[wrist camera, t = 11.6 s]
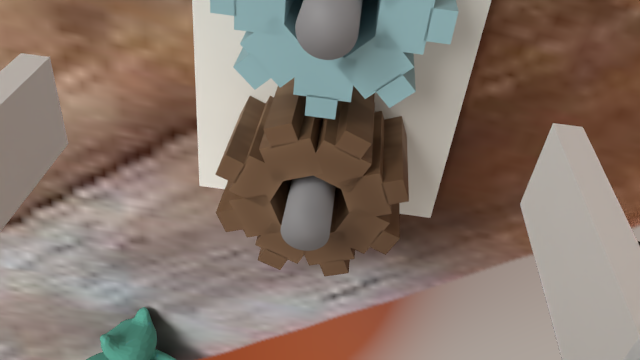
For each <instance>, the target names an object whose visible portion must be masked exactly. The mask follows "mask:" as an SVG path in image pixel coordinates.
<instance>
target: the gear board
mask: <svg viewBox="0 0 640 360" xmlns="http://www.w3.org/2000/svg"><path fill="white" fill-rule="evenodd" d="M362 1H363V0H303V3H302V6H301V9H300V12H299V14H298V17H297V20H296V25H295V32H296V37H297V40H298V42H299V44H300V45H301V47H302V48H303V49H304V50H305V51H306V52H307V53H308V54H310V55H311V56H313V57H315V58H318V59H322V60H334V59H338V58H340V57H343V56H344V55H346V54H347V53H349V52H350V51H351V50H352V48H353V47H354V45H355V44H356V41H357V39H358V33H359V25H360V17H361V9H362ZM456 3H457V7H458V11H459V12H458V16H457V20H456V24H455V28H454V32H453V36H452V40H451V44H443V43H435V42H428V41H426V44H425V49H424V53H423V55H422V54H414V70H415V87H416V92H414V93H413V94H411V95H410V96H408V97H406V98H405V99H403V100H402V101H400V102H398V103H397V104H395V105H394V106H392V107H390V108H389V107H388V106H387V105H386V103H385V102H384V101H383V100H382V99H381V97H380V96H379V95H378V94H377V93H376V92H375V95H374V102H375V112H378V111H382V113H383V116H384V120H385V119H390V118H395V117H400V116H402V119H403V123H404V127H405V131H406V135H407V156H408V187H409V202H403V203H399V205H400V214H406V215H413V216H420V217H427V218H431V214H432V210H433V207H434V203H435V200H436V196H437V193H438V189H439V185H440V182H441V178H442V175H443V171H444V168H445V164H446V161H447V157H448V153H449V150H450V146H451V143H452V139H453V136H454V132H455V128H456V125H457V121H458V118H459V114H460V111H461V107H462V104H463V100H464V96H465V93H466V89H467V86H468V82H469V79H470V75H471V71H472V68H473V64H474V61H475V57H476V54H477V50H478V46H479V43H480V39H481V36H482V32H483V29H484V25H485V22H486V18H487V14H488V11H489V7H490V4H491V0H456ZM192 5H193V31H194V56H195V82H196V107H197V133H198V158H199V183H200V186H205V187H212V188H219V189H225V187H226V185H227V182H228V180H226V179H224V178H221V177H219V176H217V175H215V174H216V172H217V169H218V167H219V164H220V162H221V159H222V157H223V155H224V152H225V150H226V147H227V145H228V142H229V140H230V138H231V135H232V133H233V130H234V128H235V126H236V123H237V121H238V118H239V116H240V114H241V112H242V110H243V108H244V106H245V104H246V102H247V100H248V98H249V96H252V97H254V98H256V99H258V100H260V101H262V102H264V103H266V102H267V100H268V98H269V97H270V96H272V97H274V96H275V93H276V90H277V87H278V85H277V84H276V83H275V82H274V81H273V80H272V78H270V79H269V80H268V81H266V82H265V83H264V84H262V85H261V86H260V87H258V88H257V89H255V90H254V89H253V88H252V86H251V85H250V84H249V83H248V82H247V81H246V80H245V79H244V78H243V77H242V76H241V75H240V74H239V73H238V72H237V71H236V70H235V69H234V67H233V66H234V64H235V62H236V60H237V58H238V56H239V54H240V52H241V50H242V48H243V47H242V46H241V45H240V42H241V40H242V39H243V37H244V35H245V33H246V31H241V30H234V16H231V15H223V14H216V13H210V0H192ZM335 190H336V186H334V185H332V184H330V183H328V182H326V181H324V180H321V179H319V178H317V177H315V176H307V177H302V178H297V179H292V182H291V186H290V190H289V195H288V199H287V203H286V207H285V212H284V216H283V220H282V225H281V235H282V238H283V239H284V241H285V242H286V243H287V244H289V245H290V246H291V247H293V248H296V249H299V250H304V251H311V250H316V249H319V248H321V247H323V246H324V245H325V244H326V243H327V241H328V239H329V235H330V228H331V220H332V213H333V205H334V197H335Z"/></svg>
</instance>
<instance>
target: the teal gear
mask: <svg viewBox="0 0 640 360" xmlns="http://www.w3.org/2000/svg"><path fill="white" fill-rule="evenodd" d="M302 3H303V0H210V13H216V14H223V15H231V16H234V30H241V31H246V33H245V35H244V37H243V39H242V40H241V42H240V45H241V46H242V47H243V48H242V50H241V52H240V54H239V56H238V58H237V60H236V62H235V64H234V66H233V67H234V69H235V70H236V71H237V72H238V73H239V74H240V75H241V76H242V77H243V78H244V79H245V80H246V81H247V82H248V83H249V84H250V85H251V86H252V88H253V89H254V90H255V89H257V88H258V87H260V86H261V85H262V84H264V83H265V82H266V81H268V80H269V79H270V78H272V80H273V81H274V82H275V83H276V84H277V85H278V86H279V87H282V86H283V85H285V84H286V83H287V82H289V81H290V80H292V79H293V78H294V77H295V78H294V91H293V95H300V96H306V107H305V116H312V117H319V118H327V119H334V120H335V117H336V110H337V104H338V101H345V102H351V98H352V91H353V85H354V87H355V88H356V89H357V90H358V91H359V93H360V94H361V95H362V96H363V97H364V98H365V99H366V98H368V97H369V96H371V95H372V94H374V93H375V92H376V93H377V94H378V95H379V96H380V97H381V99H382V100H383V101H384V102H385V103H386V105H387V106H388V107H389V108H390V107H392V106H394V105H395V104H397V103H398V102H400V101H402V100H403V99H405V98H406V97H408V96H410V95H411V94H413V93H414V92H416V87H415V70H414V54H422V55H423V53H424V49H425V44H426V41H428V42H435V43H443V44H451V40H452V36H453V32H454V28H455V24H456V20H457V16H458V12H459V11H458V7H457V3H456V0H363V1H362V9H361V17H360V25H359V33H358V39H357V41H356V44H355V45H354V47H353V48H352V50H351V51H350V52H349V53H347V54H346V55H344V56H343V57H340V58H338V59H334V60H322V59H318V58H315V57H313V56H311V55H310V54H308V53H307V52H306V51H305V50H304V49H303V48H302V47H301V45H300V44H299V42H298V40H297V37H296V32H295V25H296V20H297V17H298V14H299V12H300V9H301V6H302Z"/></svg>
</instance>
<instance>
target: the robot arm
mask: <svg viewBox="0 0 640 360" xmlns="http://www.w3.org/2000/svg"><path fill="white" fill-rule="evenodd" d="M67 145H68V140H67V135H66V131H65V126H64V121H63V117H62V112H61V107H60V103H59V98H58V93H57V89H56V84H55V79H54V75H53V70H52V65H51V61H50V57H46V56H38V55H30V54H23V53H21V54H19V55H18V56H17V57H16V58H15V59H14V60H13V61H12V62H10V63H9V64H8V65H7V66H6V67H5V68H4V69H2V70H1V71H0V231H1V230H2V229H3V227H4V226H5V225H6V224H7V222H8V221H9V220H10V218H11V217H12V216H13V215H14V213H15V212H16V211H17V209H18V208H19V207H20V205H21V204H22V203H23V202H24V200H25V199H26V198H27V196H28V195H29V194H30V193H31V191H32V190H33V189H34V187H35V186H36V185H37V183H38V182H39V181H40V180H41V178H42V177H43V176H44V174H45V173H46V172H47V171H48V169H49V168H50V167H51V165H52V164H53V163H54V161H55V160H56V159H57V158H58V156H59V155H60V154H61V152H62V151H63V150H64V149H65V147H66V146H67ZM520 206H521V210H522V213H523V217H524V221H525V225H526V228H527V232H528V236H529V239H530V243H531V247H532V251H533V254H534V258H535V262H536V265H537V269H538V273H539V277H540V280H541V284H542V288H543V291H544V295H545V299H546V303H547V306H548V310H549V314H550V317H551V321H552V325H553V329H554V332H555V336H556V340H557V343H558V347H559V351H560V355H561V358H562V360H640V242H639V241H637V239H636V237H635V235H634V233H633V231H632V229H631V227H630V225H629V223H628V221H627V219H626V216H625V214H624V212H623V210H622V208H621V206H620V204H619V202H618V200H617V198H616V195H615V193H614V191H613V189H612V187H611V185H610V183H609V181H608V179H607V177H606V175H605V172H604V170H603V168H602V166H601V164H600V162H599V160H598V158H597V156H596V154H595V151H594V149H593V147H592V145H591V143H590V141H589V139H588V137H587V135H586V133H585V131H584V128H583V127H579V126H571V125H563V124H556V123H553V124H552V127H551V129H550V132H549V134H548V137H547V139H546V142H545V144H544V146H543V149H542V151H541V154H540V156H539V159H538V161H537V164H536V166H535V169H534V171H533V173H532V176H531V178H530V181H529V183H528V186H527V188H526V191H525V193H524V196H523V198H522V200H521V203H520Z"/></svg>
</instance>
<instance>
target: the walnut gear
mask: <svg viewBox="0 0 640 360" xmlns="http://www.w3.org/2000/svg"><path fill="white" fill-rule="evenodd" d="M294 78H295V77H294ZM294 78H293V79H292V80H290V81H289V82H287V83H286V84H285V85H283V86H282V87H279V86H278V87H277V90H276V93H275V96H274V97H272V96H270V97H269V98H268V100H267V102H266V103H264V102H262V101H260V100H258V99H256V98H254V97H252V96H249V98H248V100H247V102H246V104H245V106H244V108H243V110H242V112H241V114H240V116H239V118H238V121H237V123H236V126H235V128H234V130H233V133H232V135H231V138H230V140H229V142H228V145H227V147H226V150H225V152H224V155H223V157H222V159H221V162H220V164H219V167H218V169H217V172H216V174H215V175H217V176H219V177H221V178H224V179H226V180H228V182H227V185H226V187H225V190H224V193H223V195H222V198H221V201H220V203H219V206H218V209H217V211H216V214H217V216H218V218H219V220H220V221H221V223H222V225H223V227H224V229H225V231H226V232H230V231H236V230H242V229H243V230H244V232H245V234H246V236H247V237H252V236H258V237H257V240H256V244H255V245H257V246H259V247H261V250H260V253H259V257H258V260H259V261H261V262H263V263H265V264H268V265H270V266H272V267H274V268H277V269H279V270H280V269H281V268H282V267H283V265H284V264H285V263H286V261H287V260H290V261H292V262H295V263H297V264H298V262H299V261H300V260H301V258H302V257H303V256H304V255H305V257H306V259H307V262H308V264H309V265H315V264H320V267H321V269H322V271H323V274H324V276H330V275H338V274H345V273H349V261H350V259H354V256H355V250H357V251H359V252H361V253H363V254H364V253H365V252H366V251H367V250H368V249H369V247H371V248H373V249H375V250H377V251H379V252H381V253H383V254H385V255H386V254H387V253H388V251H389V250H390V249H391V248H392V247H393V246H394V245H395V243H396V242H397V241H398V240H399V239H400V205H399V203H403V202H409V187H408V156H407V135H406V131H405V127H404V123H403V119H402V116H400V117H395V118H390V119H385V120H384V116H383V113H382V111H378V112H375V102H374V95H375V93H374V94H372V95H371V96H369V97H368V98H366V99H365V98H364V97H363V96H362V95H361V94H360V93H359V91H358V90H357V89H356V88H355V87H354V85H353V91H352V98H351V102H345V101H338V104H337V110H336V117H335V120H334V119H327V118H319V117H312V116H305V107H306V96H300V95H293V91H294ZM307 176H315V177H317V178H319V179H321V180H324V181H326V182H328V183H330V184H332V185H334V186H336V190H335V197H334V205H333V213H332V220H331V228H330V235H329V239H328V241H327V243H326V244H325V245H324V246H323V247H321V248H319V249H316V250H311V251H304V250H299V249H296V248H293V247H291V246H290V245H289V244H287V243H286V242H285V241H284V239H283V238H282V235H281V225H282V220H283V216H284V212H285V207H286V203H287V199H288V195H289V190H290V186H291V182H292V179H297V178H302V177H307Z"/></svg>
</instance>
